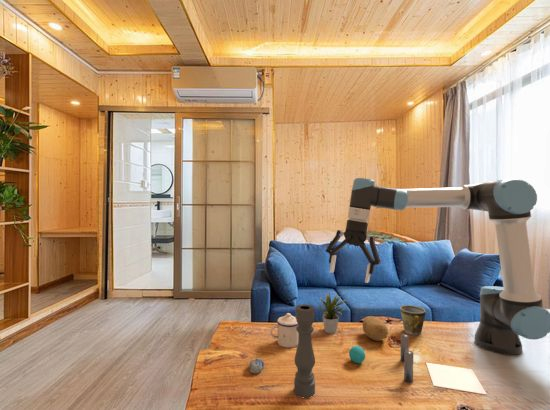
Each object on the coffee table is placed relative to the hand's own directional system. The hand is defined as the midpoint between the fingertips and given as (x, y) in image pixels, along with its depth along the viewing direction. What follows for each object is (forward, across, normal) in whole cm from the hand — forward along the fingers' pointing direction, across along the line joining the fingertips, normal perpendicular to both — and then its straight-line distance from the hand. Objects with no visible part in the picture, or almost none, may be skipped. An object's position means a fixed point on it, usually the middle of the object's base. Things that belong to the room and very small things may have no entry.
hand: (348, 277), depth 113 cm
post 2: (+26, +25, -4) cm, 36 cm away
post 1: (+25, +22, +8) cm, 34 cm away
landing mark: (+24, +37, +6) cm, 44 cm away
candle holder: (+31, +1, -27) cm, 41 cm away
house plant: (+29, -9, +16) cm, 34 cm away
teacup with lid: (+32, -20, -4) cm, 38 cm away
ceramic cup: (+24, +20, +35) cm, 47 cm away
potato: (+27, +8, +21) cm, 35 cm away
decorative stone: (+33, -18, -25) cm, 45 cm away
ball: (+25, +8, -2) cm, 26 cm away
